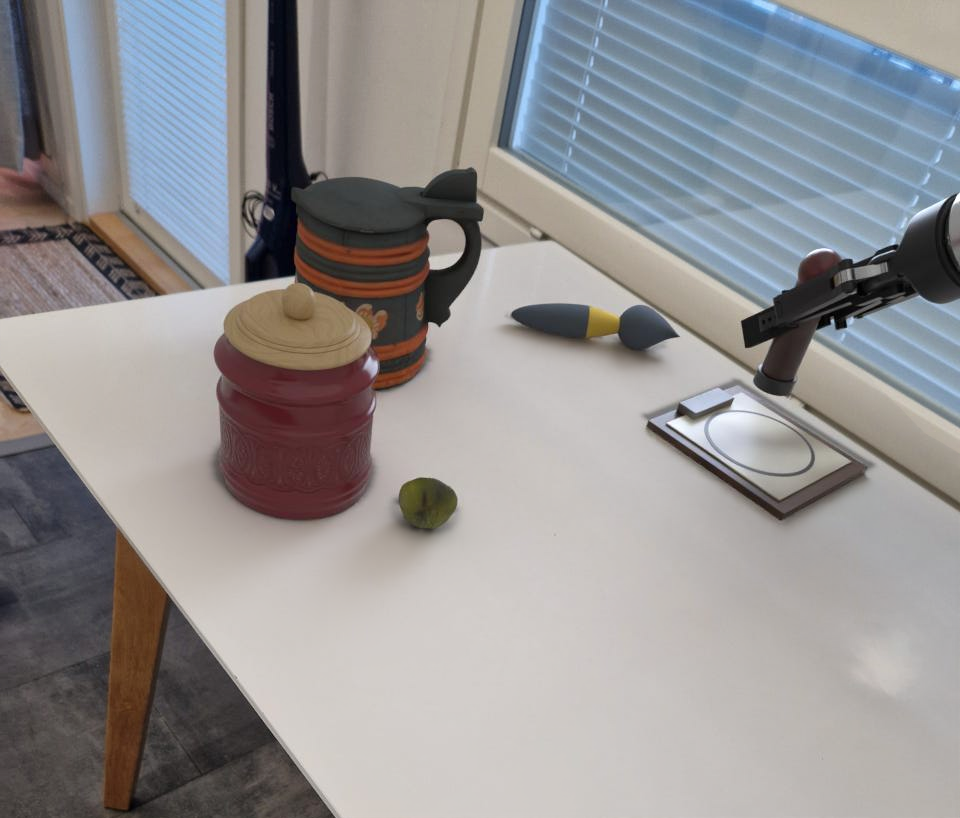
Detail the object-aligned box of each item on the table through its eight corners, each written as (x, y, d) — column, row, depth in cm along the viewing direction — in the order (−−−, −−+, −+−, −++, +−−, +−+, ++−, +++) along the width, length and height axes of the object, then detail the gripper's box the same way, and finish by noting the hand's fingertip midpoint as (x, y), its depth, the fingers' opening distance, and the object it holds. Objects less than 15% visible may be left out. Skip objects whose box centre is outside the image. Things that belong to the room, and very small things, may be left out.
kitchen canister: (377, 523, 77) (396, 333, 65) (221, 524, 74) (209, 323, 61) (361, 436, 86) (375, 253, 73) (220, 433, 82) (209, 241, 70)
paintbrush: (510, 339, 104) (518, 297, 100) (508, 318, 107) (516, 278, 104) (674, 363, 106) (688, 323, 103) (667, 342, 110) (680, 303, 106)
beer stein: (445, 325, 104) (472, 138, 90) (476, 394, 94) (511, 197, 80) (278, 319, 98) (278, 120, 84) (293, 392, 89) (296, 181, 75)
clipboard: (864, 473, 96) (872, 459, 95) (781, 520, 87) (788, 505, 86) (734, 390, 104) (740, 377, 103) (645, 426, 95) (650, 411, 94)
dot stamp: (799, 390, 90) (859, 256, 81) (777, 400, 88) (837, 263, 79) (767, 372, 92) (823, 238, 83) (745, 381, 90) (799, 244, 80)
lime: (388, 515, 78) (394, 468, 75) (436, 503, 80) (443, 457, 77) (413, 546, 76) (420, 499, 72) (461, 533, 78) (470, 487, 75)
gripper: (907, 295, 66) (702, 377, 87) (1050, 284, 72) (827, 363, 94) (892, 190, 65) (690, 299, 86) (1038, 188, 72) (816, 290, 93)
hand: (761, 332), depth 90 cm, fingers closed on dot stamp, 3 cm apart
